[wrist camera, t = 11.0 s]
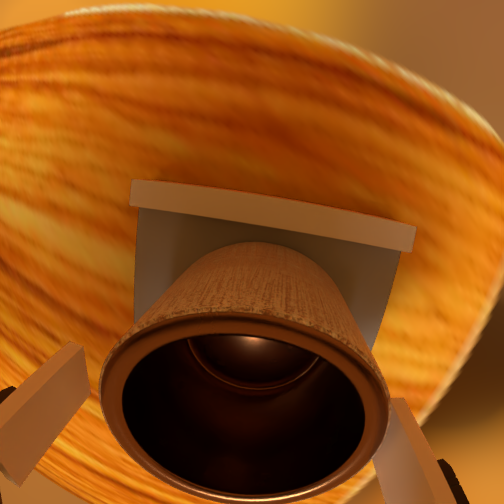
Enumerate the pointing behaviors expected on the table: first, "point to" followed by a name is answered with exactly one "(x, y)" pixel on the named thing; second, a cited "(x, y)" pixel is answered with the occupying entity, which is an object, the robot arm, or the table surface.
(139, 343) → the planter
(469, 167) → the table surface
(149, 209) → the grey square tray
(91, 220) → the table surface
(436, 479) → the robot arm
